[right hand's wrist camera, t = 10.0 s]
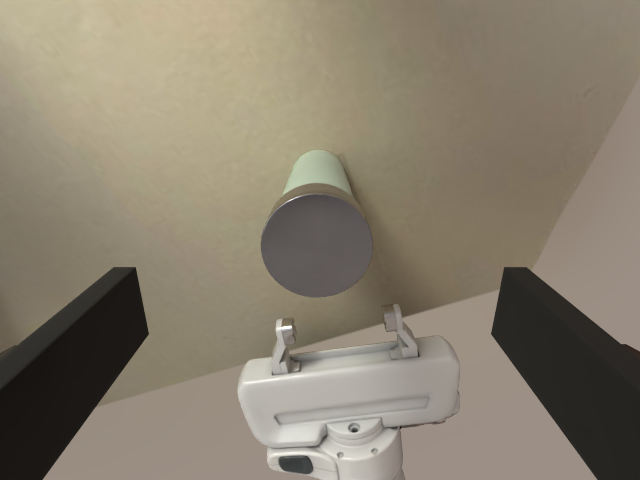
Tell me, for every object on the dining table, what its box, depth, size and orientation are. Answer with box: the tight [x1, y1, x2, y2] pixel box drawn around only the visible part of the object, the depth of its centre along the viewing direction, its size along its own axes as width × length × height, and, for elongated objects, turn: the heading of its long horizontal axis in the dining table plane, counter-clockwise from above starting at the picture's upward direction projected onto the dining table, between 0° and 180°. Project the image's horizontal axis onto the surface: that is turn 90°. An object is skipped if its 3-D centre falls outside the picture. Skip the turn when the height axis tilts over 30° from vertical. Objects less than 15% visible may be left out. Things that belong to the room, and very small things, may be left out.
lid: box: [261, 183, 373, 297], centre depth 19 cm, size 6×5×2 cm
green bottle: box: [282, 150, 354, 198], centre depth 26 cm, size 5×5×17 cm
